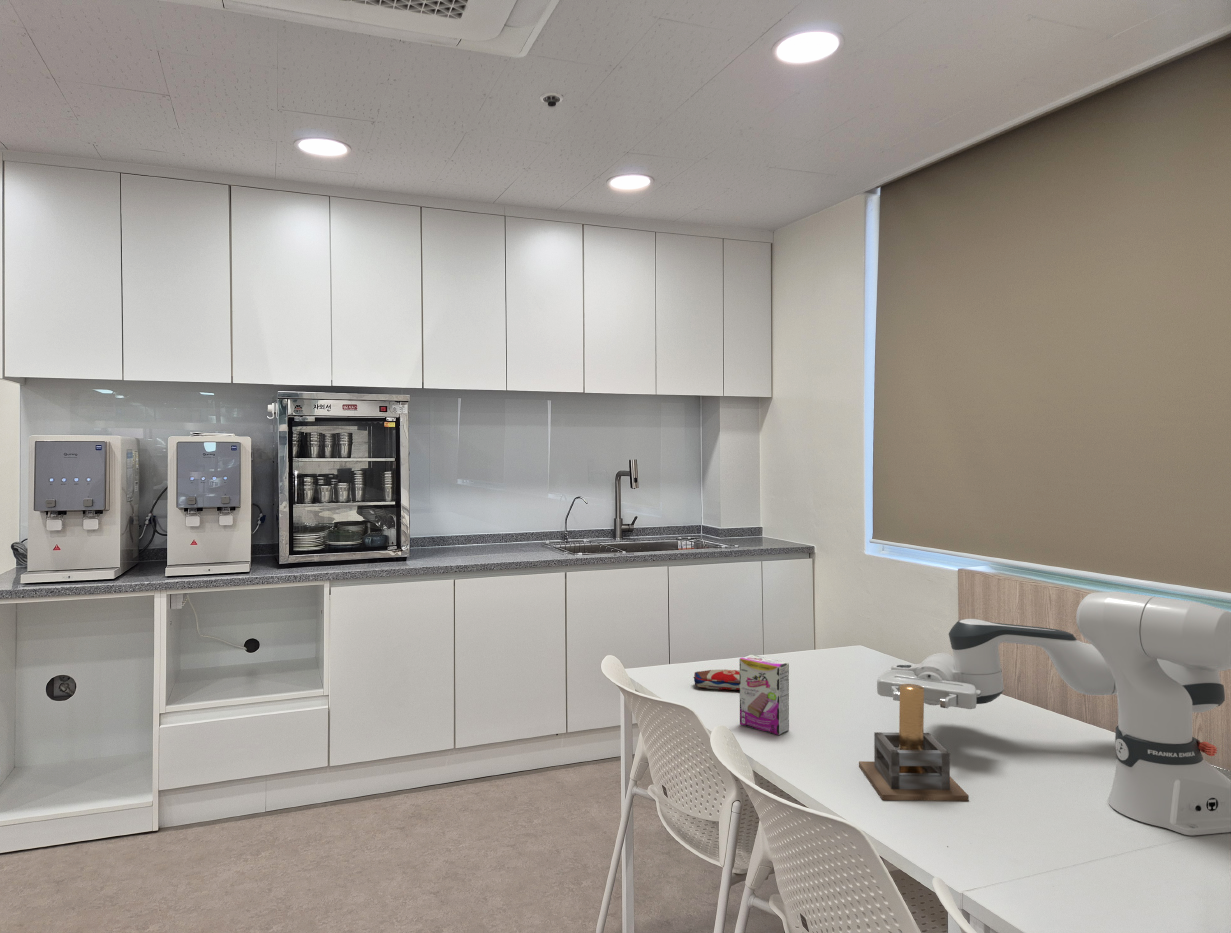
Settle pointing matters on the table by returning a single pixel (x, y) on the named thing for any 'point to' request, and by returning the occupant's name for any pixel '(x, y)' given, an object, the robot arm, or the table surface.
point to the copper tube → (911, 722)
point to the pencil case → (718, 679)
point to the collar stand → (911, 785)
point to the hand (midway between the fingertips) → (919, 700)
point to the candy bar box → (764, 694)
